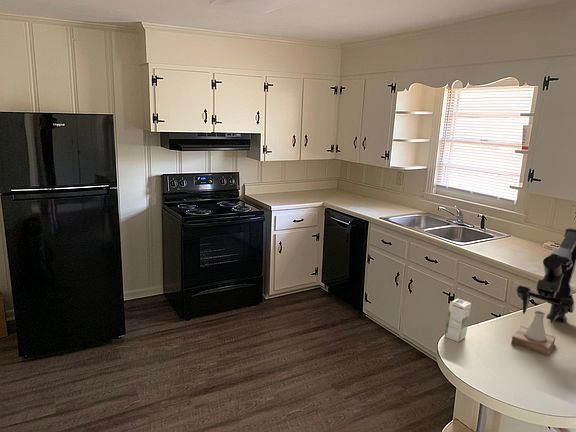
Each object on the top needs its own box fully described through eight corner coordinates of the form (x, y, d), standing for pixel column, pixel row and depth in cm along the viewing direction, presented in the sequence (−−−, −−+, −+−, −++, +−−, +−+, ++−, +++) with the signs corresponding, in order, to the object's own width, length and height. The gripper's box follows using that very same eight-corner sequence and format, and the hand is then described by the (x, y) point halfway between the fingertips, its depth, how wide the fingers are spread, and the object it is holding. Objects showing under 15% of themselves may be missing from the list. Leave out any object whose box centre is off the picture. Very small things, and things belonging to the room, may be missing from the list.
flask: (532, 331, 171) (537, 307, 168) (550, 340, 164) (555, 315, 162) (519, 334, 167) (524, 310, 165) (537, 343, 161) (542, 318, 159)
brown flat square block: (519, 332, 175) (520, 325, 175) (554, 344, 168) (555, 336, 167) (511, 343, 166) (512, 336, 166) (547, 356, 159) (548, 348, 158)
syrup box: (451, 332, 173) (456, 297, 169) (465, 338, 169) (471, 302, 165) (444, 336, 169) (449, 301, 166) (459, 343, 165) (464, 306, 161)
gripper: (522, 264, 170) (507, 299, 164) (579, 279, 157) (564, 316, 152) (525, 279, 177) (511, 312, 172) (579, 294, 165) (566, 330, 159)
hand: (537, 317), depth 164 cm, fingers open, 9 cm apart
